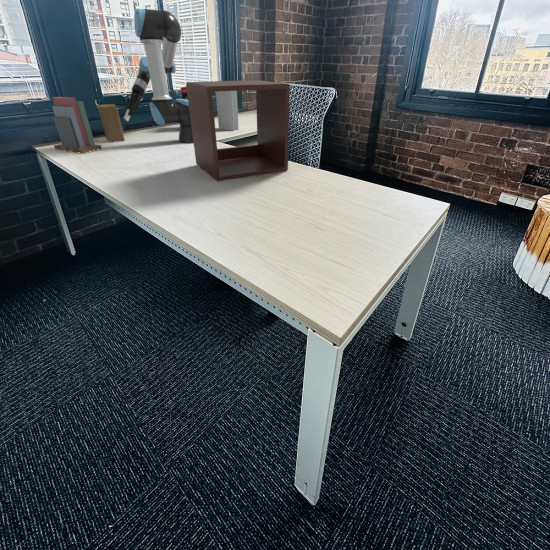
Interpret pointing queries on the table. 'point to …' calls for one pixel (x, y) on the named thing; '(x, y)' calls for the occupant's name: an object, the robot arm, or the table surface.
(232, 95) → the grey upright pillar
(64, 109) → the row of books
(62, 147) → the walnut shelf board
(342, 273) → the table surface
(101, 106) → the wooden block
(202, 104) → the storage cube
